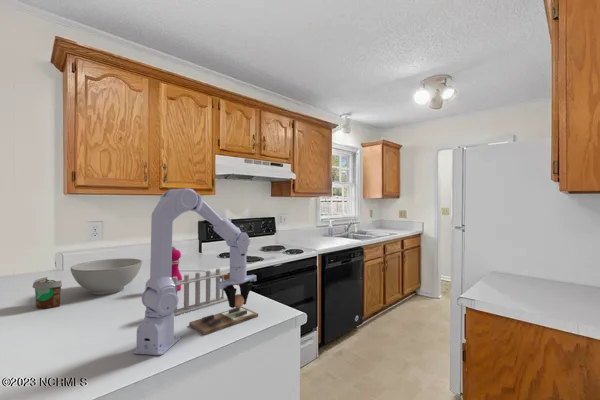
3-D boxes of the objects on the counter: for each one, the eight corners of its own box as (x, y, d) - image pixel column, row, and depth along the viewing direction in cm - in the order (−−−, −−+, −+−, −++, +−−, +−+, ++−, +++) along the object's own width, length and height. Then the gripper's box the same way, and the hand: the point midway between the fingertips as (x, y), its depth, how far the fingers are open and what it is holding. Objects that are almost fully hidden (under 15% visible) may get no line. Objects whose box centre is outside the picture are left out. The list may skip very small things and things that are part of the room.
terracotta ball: (241, 309, 97) (242, 296, 97) (229, 309, 98) (229, 296, 98) (245, 305, 102) (245, 292, 102) (233, 304, 102) (233, 292, 102)
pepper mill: (164, 288, 132) (165, 245, 133) (181, 287, 135) (182, 244, 136) (164, 293, 126) (165, 247, 126) (182, 291, 129) (182, 246, 129)
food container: (25, 306, 109) (26, 280, 109) (46, 302, 114) (46, 276, 114) (41, 312, 103) (41, 284, 103) (61, 307, 109) (62, 280, 109)
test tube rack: (166, 319, 98) (167, 280, 98) (161, 315, 101) (161, 278, 101) (228, 300, 117) (229, 268, 117) (222, 298, 120) (222, 266, 120)
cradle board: (204, 335, 85) (204, 327, 85) (189, 325, 92) (189, 318, 92) (258, 316, 100) (258, 310, 100) (241, 309, 107) (241, 303, 107)
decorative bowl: (119, 280, 148) (119, 256, 148) (154, 286, 136) (154, 261, 136) (56, 294, 124) (57, 266, 124) (93, 304, 112) (93, 273, 112)
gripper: (248, 261, 108) (248, 297, 108) (213, 267, 98) (212, 307, 97) (260, 264, 103) (259, 302, 103) (224, 270, 93) (224, 313, 92)
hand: (237, 305), depth 100 cm, fingers closed on terracotta ball, 4 cm apart
